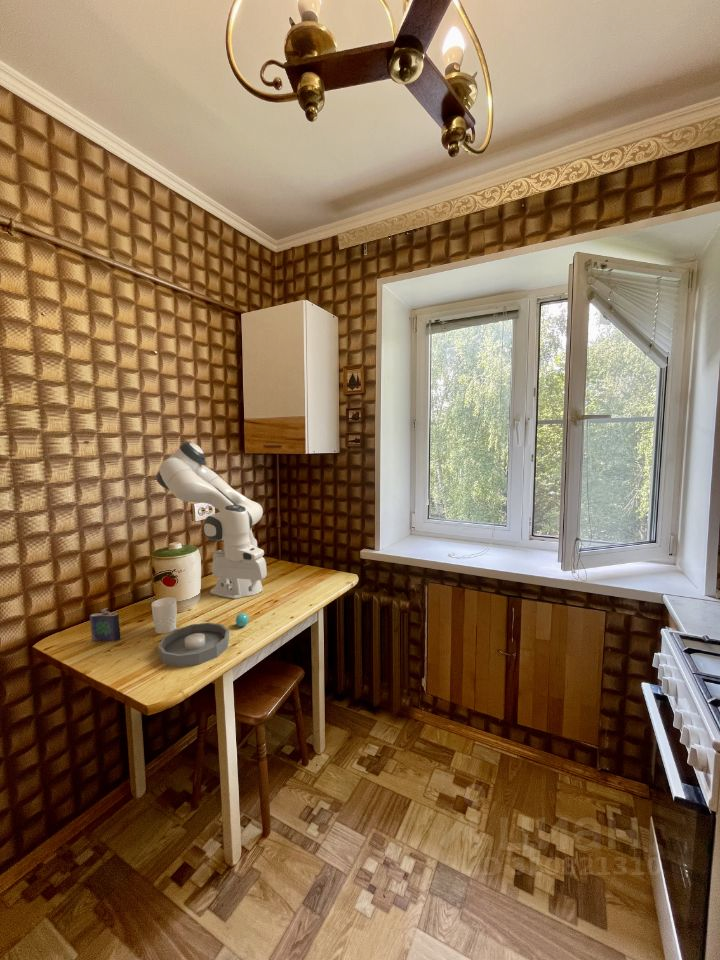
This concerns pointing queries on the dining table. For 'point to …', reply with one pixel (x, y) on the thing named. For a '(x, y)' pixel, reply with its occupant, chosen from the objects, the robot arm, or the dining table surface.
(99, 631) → the flask
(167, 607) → the white cup
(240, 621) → the bead
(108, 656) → the dining table surface
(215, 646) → the ring tray
